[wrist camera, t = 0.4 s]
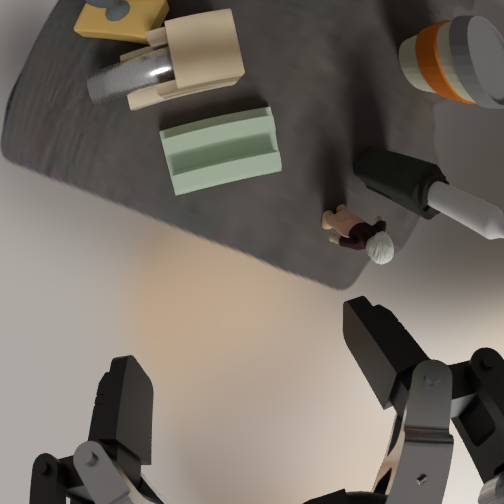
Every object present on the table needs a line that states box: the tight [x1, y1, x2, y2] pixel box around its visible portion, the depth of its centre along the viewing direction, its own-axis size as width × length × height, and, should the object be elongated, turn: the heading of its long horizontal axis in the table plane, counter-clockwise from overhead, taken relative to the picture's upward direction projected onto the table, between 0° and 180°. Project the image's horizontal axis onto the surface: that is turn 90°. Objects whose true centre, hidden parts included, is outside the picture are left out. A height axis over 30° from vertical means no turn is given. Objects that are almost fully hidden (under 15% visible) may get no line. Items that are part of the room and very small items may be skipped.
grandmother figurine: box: [322, 204, 394, 264], centre depth 33 cm, size 8×4×13 cm, turn 120°
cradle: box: [159, 107, 282, 195], centre depth 30 cm, size 8×13×4 cm, turn 101°
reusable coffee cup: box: [399, 16, 504, 108], centre depth 23 cm, size 13×12×15 cm
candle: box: [354, 147, 504, 239], centre depth 25 cm, size 5×5×25 cm
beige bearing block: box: [120, 9, 245, 110], centre depth 23 cm, size 7×12×8 cm, turn 101°
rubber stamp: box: [73, 0, 169, 45], centre depth 17 cm, size 10×6×12 cm, turn 70°
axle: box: [87, 47, 176, 106], centre depth 23 cm, size 14×4×4 cm, turn 101°
